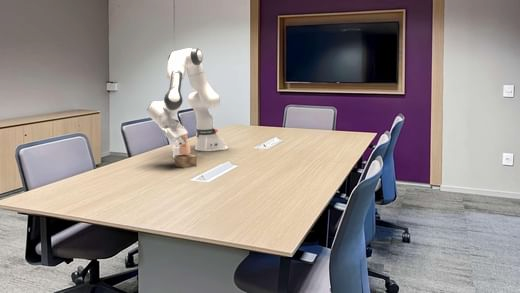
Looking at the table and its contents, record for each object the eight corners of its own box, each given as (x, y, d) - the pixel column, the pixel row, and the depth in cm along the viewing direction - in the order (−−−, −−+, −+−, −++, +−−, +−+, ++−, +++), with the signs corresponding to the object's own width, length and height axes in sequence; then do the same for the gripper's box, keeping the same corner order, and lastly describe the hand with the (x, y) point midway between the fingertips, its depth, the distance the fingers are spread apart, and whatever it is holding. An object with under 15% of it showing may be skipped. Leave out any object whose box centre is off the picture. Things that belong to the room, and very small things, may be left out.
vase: (182, 152, 263) (182, 135, 262) (190, 152, 262) (190, 135, 261) (179, 154, 259) (179, 136, 257) (187, 154, 258) (187, 136, 256)
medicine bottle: (182, 156, 290) (181, 137, 287) (188, 157, 284) (187, 138, 282) (172, 157, 285) (171, 138, 283) (178, 159, 280) (177, 139, 277)
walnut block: (189, 163, 268) (188, 153, 267) (196, 166, 261) (196, 155, 260) (175, 165, 263) (174, 155, 262) (182, 168, 256) (182, 157, 255)
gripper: (165, 124, 249) (182, 142, 249) (179, 119, 269) (195, 136, 268) (157, 132, 251) (175, 150, 250) (172, 127, 270) (188, 144, 270)
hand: (185, 143), depth 260 cm, fingers closed on vase, 2 cm apart
